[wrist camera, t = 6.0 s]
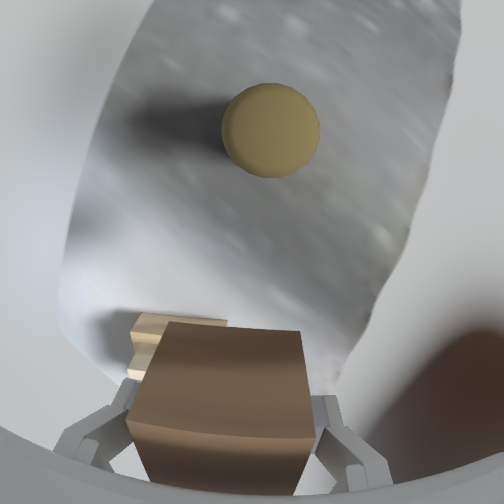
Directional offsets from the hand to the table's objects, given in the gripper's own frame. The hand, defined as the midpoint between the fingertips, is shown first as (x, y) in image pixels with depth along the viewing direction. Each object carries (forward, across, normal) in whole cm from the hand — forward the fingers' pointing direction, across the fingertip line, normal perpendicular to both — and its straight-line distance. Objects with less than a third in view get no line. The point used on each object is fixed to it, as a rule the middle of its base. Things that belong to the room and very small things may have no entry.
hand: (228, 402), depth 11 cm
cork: (+18, -1, -10) cm, 21 cm away
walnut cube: (+2, 0, 0) cm, 2 cm away
